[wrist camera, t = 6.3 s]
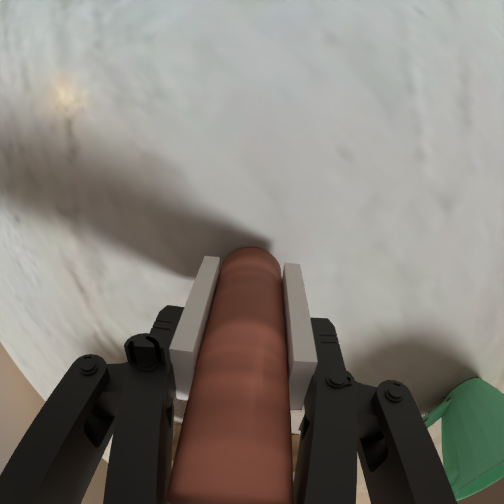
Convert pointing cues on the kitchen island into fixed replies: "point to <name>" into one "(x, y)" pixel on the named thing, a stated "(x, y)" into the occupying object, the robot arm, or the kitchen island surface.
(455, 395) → the mug
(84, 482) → the robot arm
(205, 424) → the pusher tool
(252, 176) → the kitchen island surface
